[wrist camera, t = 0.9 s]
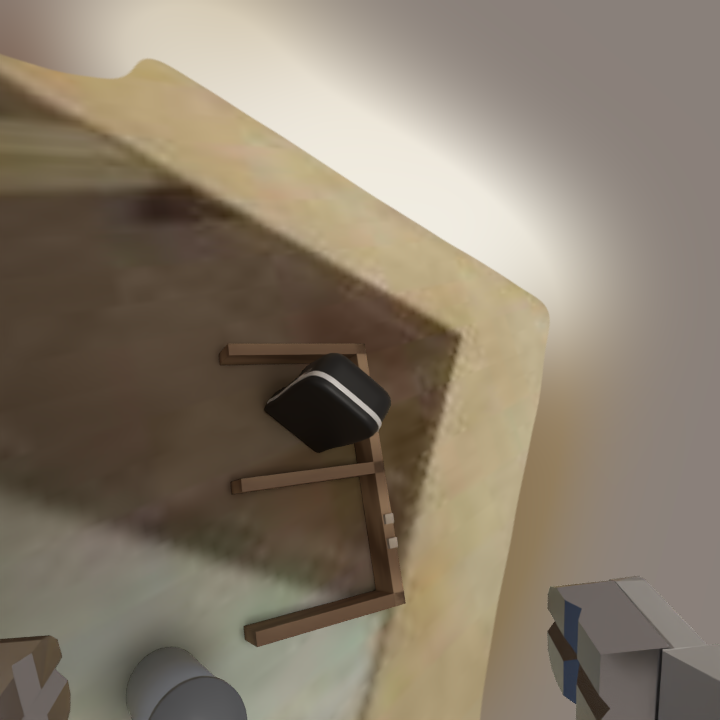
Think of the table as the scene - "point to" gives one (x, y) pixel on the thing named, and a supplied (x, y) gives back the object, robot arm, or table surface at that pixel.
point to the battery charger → (331, 404)
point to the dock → (366, 468)
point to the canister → (180, 690)
